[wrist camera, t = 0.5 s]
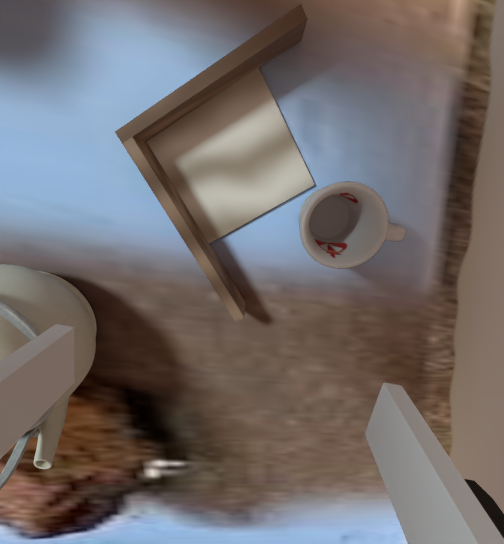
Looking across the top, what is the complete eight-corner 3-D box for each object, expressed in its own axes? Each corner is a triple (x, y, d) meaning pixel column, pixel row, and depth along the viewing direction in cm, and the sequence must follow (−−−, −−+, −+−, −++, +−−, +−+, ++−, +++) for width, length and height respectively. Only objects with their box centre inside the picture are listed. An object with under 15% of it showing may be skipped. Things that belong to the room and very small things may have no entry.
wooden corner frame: (132, 137, 32) (114, 131, 28) (295, 27, 29) (300, 4, 25) (237, 307, 38) (235, 321, 34) (384, 233, 34) (400, 240, 31)
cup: (394, 190, 33) (433, 194, 25) (374, 258, 35) (405, 280, 28) (299, 175, 33) (310, 174, 25) (286, 244, 35) (292, 262, 28)
